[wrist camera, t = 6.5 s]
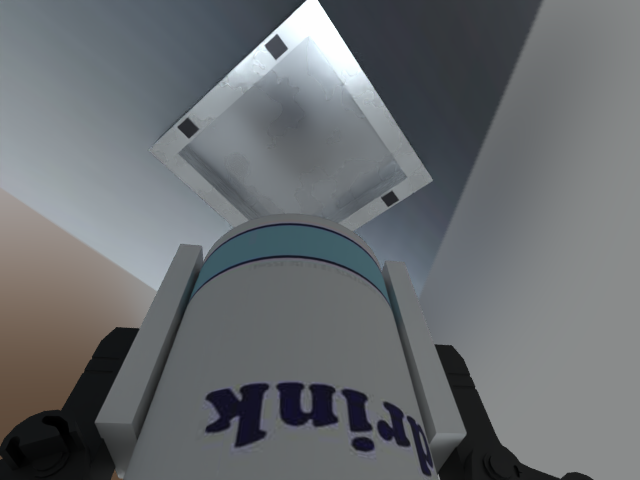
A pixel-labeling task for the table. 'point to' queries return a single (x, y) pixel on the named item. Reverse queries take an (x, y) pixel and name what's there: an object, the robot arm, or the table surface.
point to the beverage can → (285, 366)
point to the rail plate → (294, 134)
